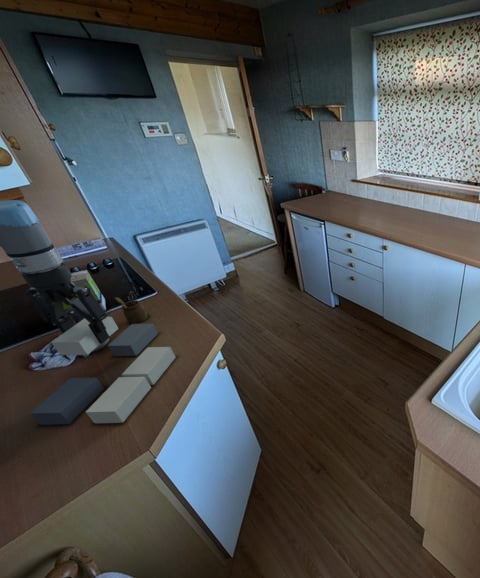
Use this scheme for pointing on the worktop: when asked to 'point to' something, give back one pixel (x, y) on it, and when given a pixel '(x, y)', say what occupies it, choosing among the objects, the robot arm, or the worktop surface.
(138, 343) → the grey book
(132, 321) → the utensil holder
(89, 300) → the robot arm
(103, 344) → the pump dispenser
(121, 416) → the white book
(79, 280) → the tea box
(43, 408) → the grey book
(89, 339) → the white book
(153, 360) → the white book
